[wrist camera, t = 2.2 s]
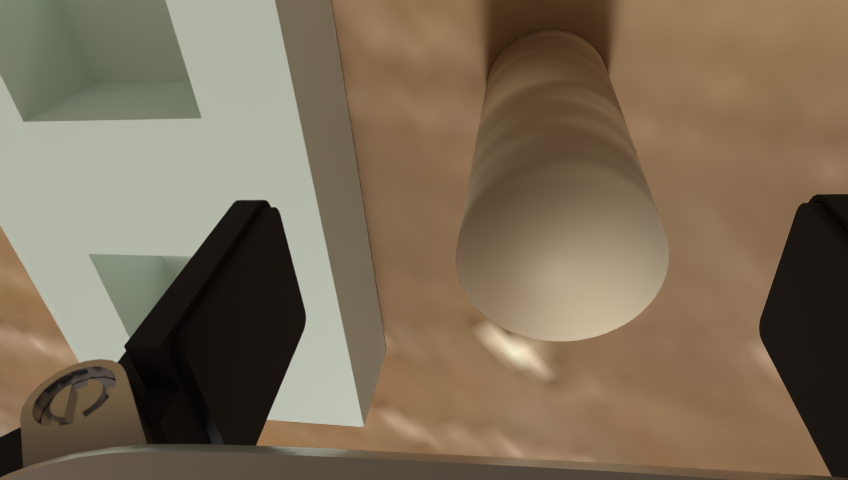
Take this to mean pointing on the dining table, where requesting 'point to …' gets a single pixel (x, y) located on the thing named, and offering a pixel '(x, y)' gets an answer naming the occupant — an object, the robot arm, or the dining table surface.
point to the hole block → (186, 170)
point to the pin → (557, 198)
